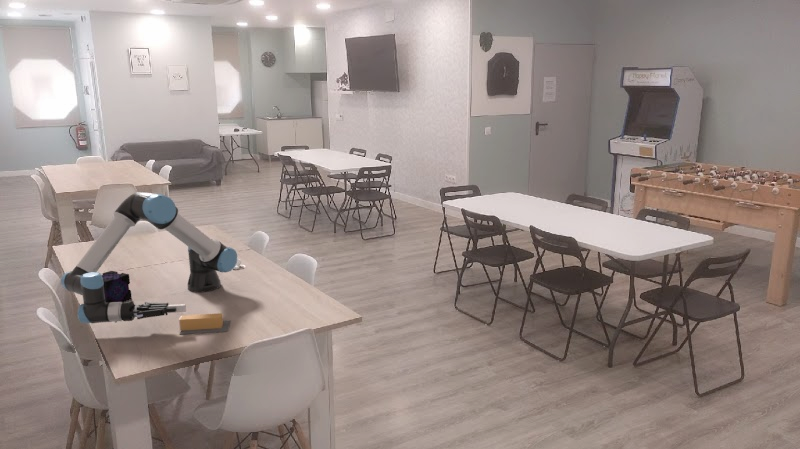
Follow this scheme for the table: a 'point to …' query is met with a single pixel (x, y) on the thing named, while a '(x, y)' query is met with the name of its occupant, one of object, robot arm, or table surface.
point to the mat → (223, 329)
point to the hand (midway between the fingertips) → (185, 307)
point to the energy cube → (116, 287)
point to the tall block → (200, 321)
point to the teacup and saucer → (238, 265)
